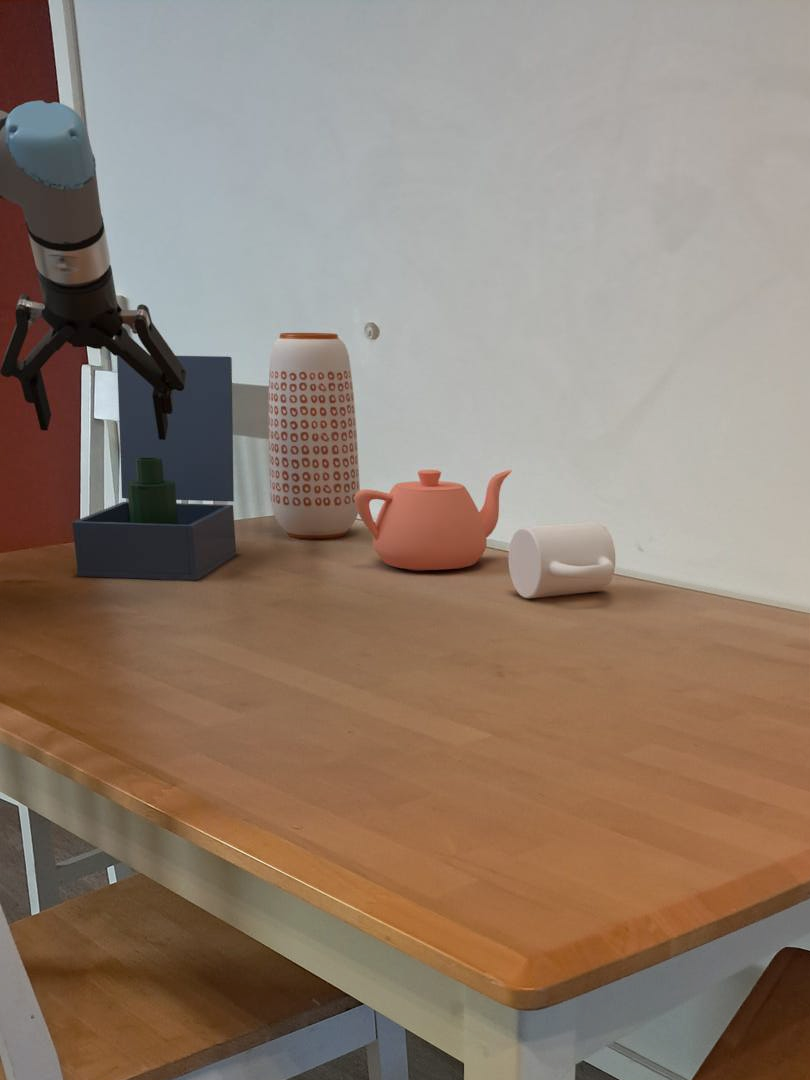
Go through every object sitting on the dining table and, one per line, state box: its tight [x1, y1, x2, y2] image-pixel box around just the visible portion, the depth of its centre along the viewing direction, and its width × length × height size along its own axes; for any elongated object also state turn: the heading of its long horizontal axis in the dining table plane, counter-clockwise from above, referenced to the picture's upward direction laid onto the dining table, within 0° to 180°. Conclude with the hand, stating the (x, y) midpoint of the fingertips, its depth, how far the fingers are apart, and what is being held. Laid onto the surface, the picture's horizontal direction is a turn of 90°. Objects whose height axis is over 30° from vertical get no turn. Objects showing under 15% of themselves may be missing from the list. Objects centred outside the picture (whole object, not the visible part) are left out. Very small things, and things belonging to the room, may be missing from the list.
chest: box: [71, 501, 237, 581], centre depth 168 cm, size 18×16×7 cm
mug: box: [507, 521, 616, 599], centre depth 153 cm, size 12×10×8 cm
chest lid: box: [116, 354, 235, 502], centre depth 175 cm, size 19×16×7 cm
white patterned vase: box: [268, 332, 361, 540], centre depth 187 cm, size 13×13×28 cm
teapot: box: [354, 469, 513, 572], centre depth 170 cm, size 22×15×12 cm
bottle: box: [127, 457, 178, 524], centre depth 166 cm, size 6×6×13 cm
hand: (105, 427), depth 150 cm, fingers open, 13 cm apart
